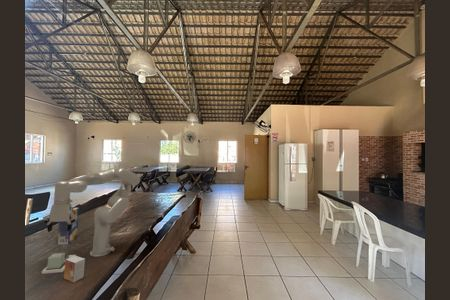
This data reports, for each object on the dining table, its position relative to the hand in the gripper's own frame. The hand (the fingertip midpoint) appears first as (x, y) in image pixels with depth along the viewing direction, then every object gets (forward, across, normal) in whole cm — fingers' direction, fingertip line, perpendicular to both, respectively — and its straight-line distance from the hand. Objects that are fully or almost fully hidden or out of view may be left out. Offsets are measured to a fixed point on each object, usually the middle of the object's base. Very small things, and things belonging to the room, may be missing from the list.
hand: (59, 230), depth 123 cm
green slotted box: (+20, 0, 0) cm, 20 cm away
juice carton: (+22, +11, -42) cm, 49 cm away
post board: (+22, 0, -4) cm, 23 cm away
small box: (+22, -13, +12) cm, 29 cm away
